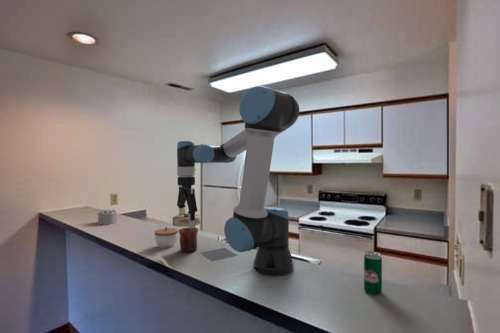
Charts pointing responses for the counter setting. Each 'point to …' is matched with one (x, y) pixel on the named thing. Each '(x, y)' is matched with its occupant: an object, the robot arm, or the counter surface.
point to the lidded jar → (166, 237)
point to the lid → (184, 220)
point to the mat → (218, 254)
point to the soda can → (373, 273)
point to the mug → (188, 239)
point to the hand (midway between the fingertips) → (186, 224)
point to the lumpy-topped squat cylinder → (107, 217)
